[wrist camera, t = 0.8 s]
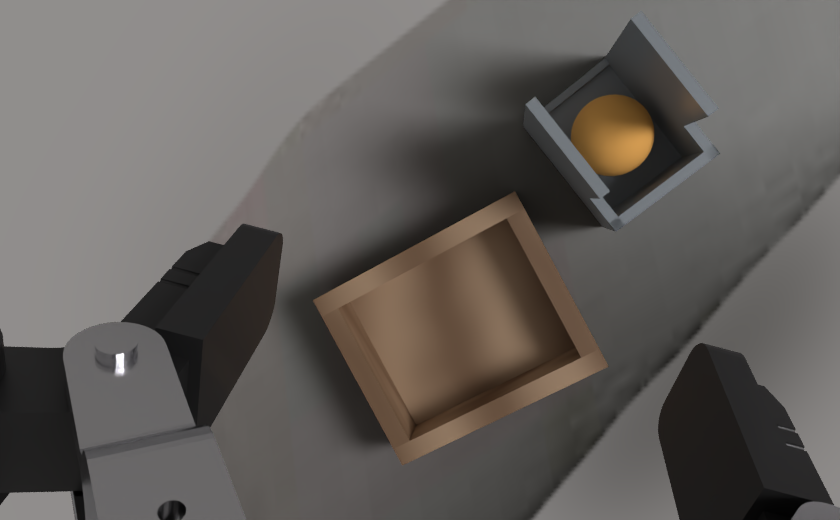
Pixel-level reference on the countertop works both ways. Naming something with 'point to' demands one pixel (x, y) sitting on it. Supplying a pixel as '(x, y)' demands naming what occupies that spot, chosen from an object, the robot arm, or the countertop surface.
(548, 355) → the tray
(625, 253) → the countertop surface
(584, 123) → the ball
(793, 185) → the countertop surface
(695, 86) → the holder
